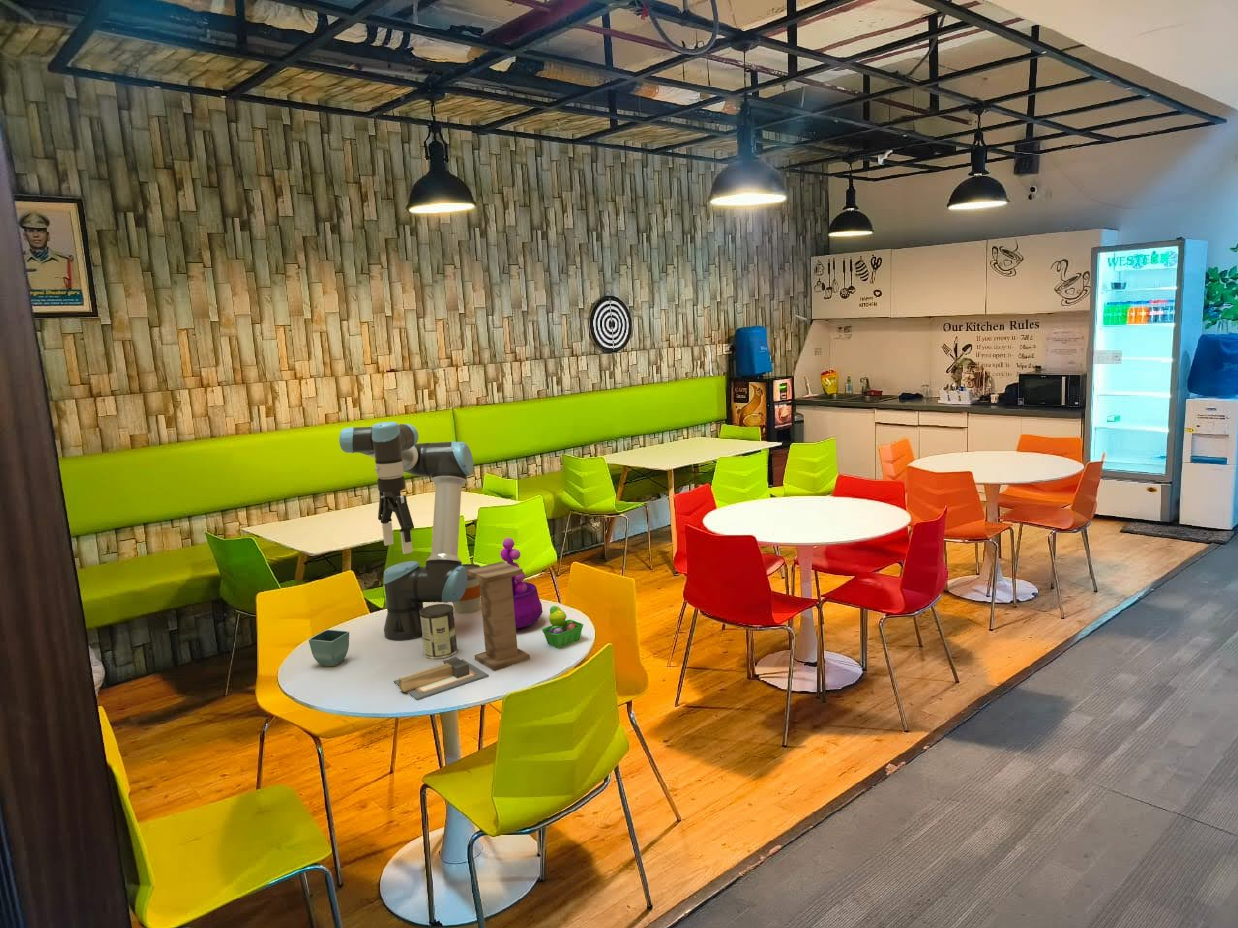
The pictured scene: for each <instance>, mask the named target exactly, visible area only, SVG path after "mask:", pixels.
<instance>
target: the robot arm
mask: <svg viewBox="0 0 1238 928" xmlns="http://www.w3.org/2000/svg"><path fill="white" fill-rule="evenodd" d="M338 439H339V440H338V443H339V446H340V449H341V450H342V451H343V452H344V453H347V454H349V453H350V454H355V453H357V454H358V453H359V454H363V455H365V456H368V457H371V458H373V459H374V462H375V467H374V471H376V477H378V478H377V490H378V492H379V493H378V494H379V500H378V501H379V504H378V514H377V520H378V521H380V523H381V528H382V537H383V544H384V545H383V546H390V545H394V544H395V542H394V532H393V523H392V521H393V520H392V515H393V513H394V514H395V516H396V519H397V522H398V524H399V526H400V529H399V532H400V540H401V548H402V549H401V550H402V554H403V555H406V554H411V553H413V552H414V550H413V542H412V530H414V528H415V526H414V522H413V518H412V514H411V511H410V508H409V505H408V500H407V495H402V493H401V491H403V490H405V488H406V483H405V481H406V480H405V476H404V474H405V473H407V474H411V475H412V476H418V477H422V478H423V477H425V478H428V477H429V478H431V481H432V482H433V484H434V485H435V488H434V489H435V490H434V491H435V492H434V506H433V507H434V508H433V520H432V536H431V537H432V538H431V553H430V556H429V557H428V558H426V560H425V566H420V563H419V561H416V560H410V561H404V562H403V561H402V562H400V563H397V564H394V565H391V566H389V567H387V568H386V569H385V570H384V572H383V587H384V592H385V593H384V594H385V595H384V596H385V602H386V611H387V613H386V617H385V622H384V626H383V635H384V637H385V638H386V639H387V640H392V641H407V640H412V639H416V638H420V637H423V636H422V627H421V618H420V613H419V611H420V610H421V609H422V608H424V603H443V604H448V603H453V602H456V601H459V600H460V599H461V598H462V596H463V595H464V592H465V589H466V585H467V570H466V568H465V567H463V566H462V564H463V562H462V560H461V559H460V558H459V557H458V556H459V555H458V554H459V553H458V552H459V539H460V538H459V537H460V536H459V535H460V522H461V521H460V520H461V519H460V518H461V503H462V500H461V498H462V487H463V486H464V485H466V483H467V478H468V477H470V476H472V475H473V471H474V458H473V454H472V451H471V448H470V447H469V445H468V444H467V443H466V442H464V441H442V442H422V443H418V441H419V432H418V430H417V429H416V427H415V426H414V425H412V424H409V423H401V424H398V422H396V421H383V422H378V423H374V424H373V425H372V426H358V427H357V426H353V427H352V426H351V427H344V428H342V430H341V431H340V434H339V437H338Z"/></svg>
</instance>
